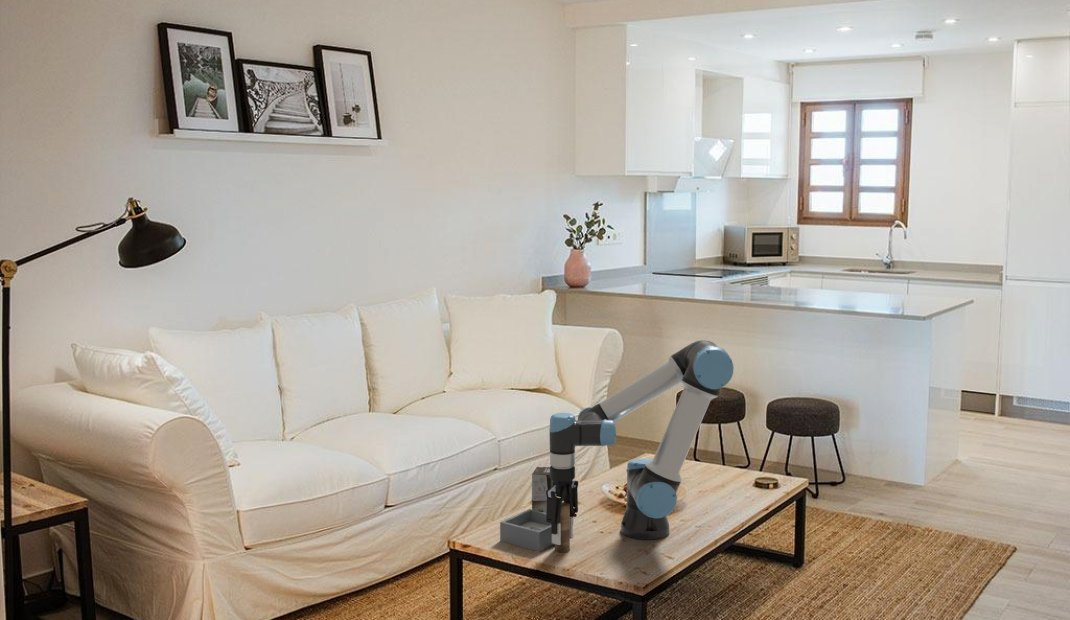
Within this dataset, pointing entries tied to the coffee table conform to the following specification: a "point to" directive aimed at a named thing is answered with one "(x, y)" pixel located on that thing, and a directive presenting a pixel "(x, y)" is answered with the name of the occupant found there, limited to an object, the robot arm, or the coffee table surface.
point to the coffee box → (540, 488)
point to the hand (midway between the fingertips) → (562, 540)
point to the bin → (527, 530)
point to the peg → (564, 528)
